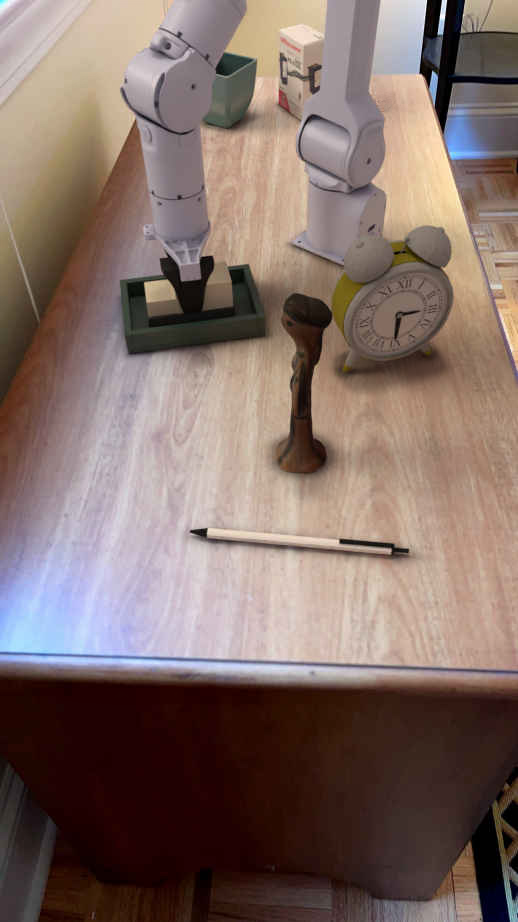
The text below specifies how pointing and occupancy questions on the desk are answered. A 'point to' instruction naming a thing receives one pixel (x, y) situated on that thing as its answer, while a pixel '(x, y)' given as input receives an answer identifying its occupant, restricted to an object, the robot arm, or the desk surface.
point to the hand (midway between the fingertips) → (190, 298)
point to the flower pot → (231, 89)
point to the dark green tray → (196, 332)
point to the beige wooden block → (167, 307)
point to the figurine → (303, 382)
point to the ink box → (299, 66)
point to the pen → (300, 541)
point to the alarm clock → (393, 294)
